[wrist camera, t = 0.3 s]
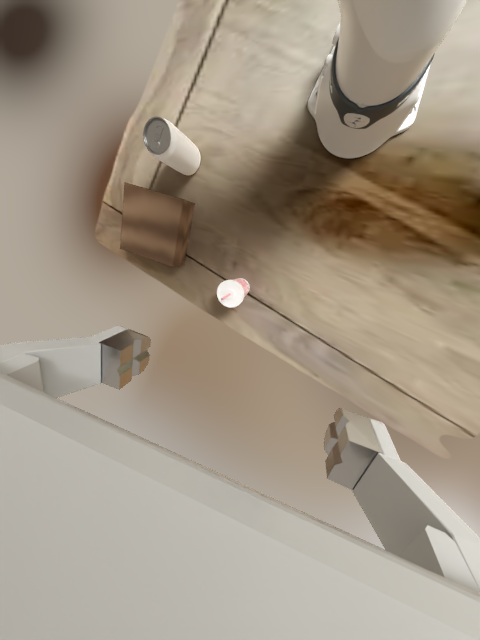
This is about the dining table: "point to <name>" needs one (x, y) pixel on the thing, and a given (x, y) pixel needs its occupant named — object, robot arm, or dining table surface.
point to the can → (171, 146)
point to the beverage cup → (232, 292)
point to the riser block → (155, 225)
